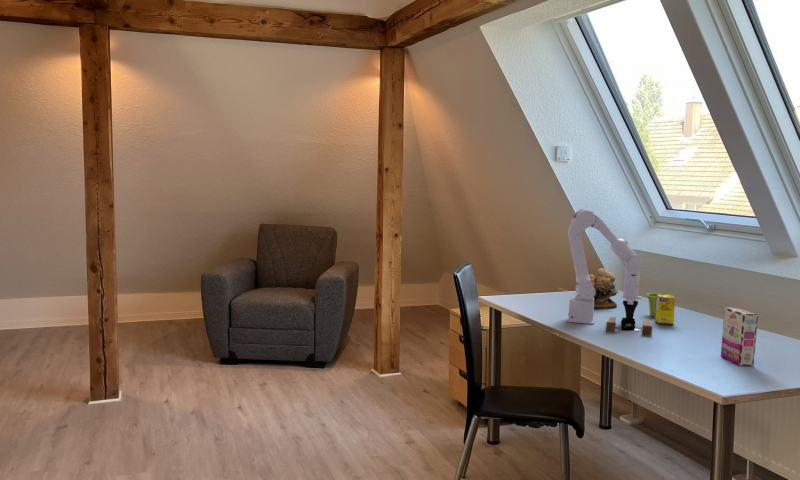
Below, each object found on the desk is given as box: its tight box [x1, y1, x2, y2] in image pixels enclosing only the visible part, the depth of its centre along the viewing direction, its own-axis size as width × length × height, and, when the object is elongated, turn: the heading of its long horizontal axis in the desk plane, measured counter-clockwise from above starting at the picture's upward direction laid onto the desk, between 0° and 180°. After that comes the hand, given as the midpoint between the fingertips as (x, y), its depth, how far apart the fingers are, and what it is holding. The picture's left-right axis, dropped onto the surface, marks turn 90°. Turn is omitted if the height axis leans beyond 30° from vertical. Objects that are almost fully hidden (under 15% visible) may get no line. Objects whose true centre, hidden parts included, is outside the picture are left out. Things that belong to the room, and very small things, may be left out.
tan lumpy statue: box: [589, 267, 619, 310], centre depth 300 cm, size 18×12×17 cm, turn 107°
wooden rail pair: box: [605, 316, 653, 337], centre depth 258 cm, size 16×14×4 cm
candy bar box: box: [720, 307, 759, 367], centre depth 217 cm, size 11×5×16 cm, turn 5°
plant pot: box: [646, 292, 669, 318], centre depth 283 cm, size 9×9×9 cm
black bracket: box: [615, 316, 643, 332], centre depth 259 cm, size 12×7×5 cm, turn 101°
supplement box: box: [654, 294, 676, 326], centre depth 269 cm, size 6×6×11 cm
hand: (629, 319), depth 268 cm, fingers closed
